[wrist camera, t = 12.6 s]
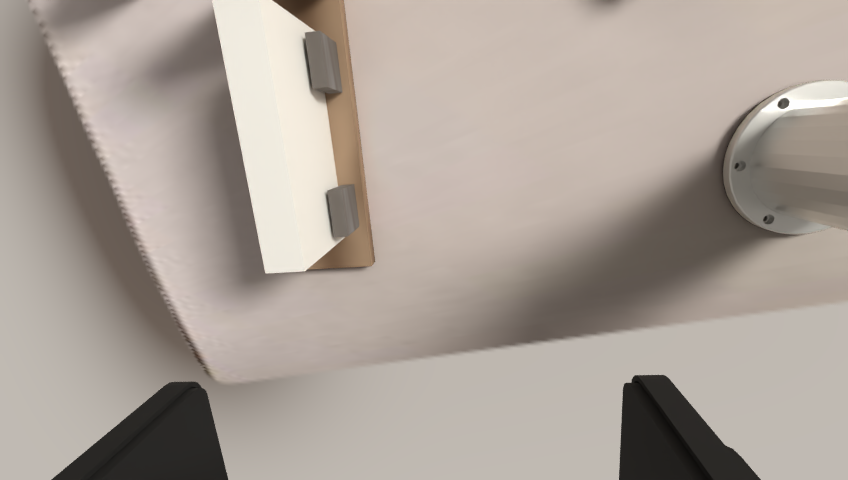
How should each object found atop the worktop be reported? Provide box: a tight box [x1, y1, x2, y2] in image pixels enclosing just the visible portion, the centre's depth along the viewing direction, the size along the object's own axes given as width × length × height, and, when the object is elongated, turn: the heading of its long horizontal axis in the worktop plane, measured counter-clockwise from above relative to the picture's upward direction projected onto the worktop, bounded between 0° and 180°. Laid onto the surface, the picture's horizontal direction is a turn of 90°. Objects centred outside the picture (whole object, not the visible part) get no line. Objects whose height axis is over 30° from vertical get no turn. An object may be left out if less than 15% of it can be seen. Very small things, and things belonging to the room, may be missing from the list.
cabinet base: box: [272, 0, 375, 269], centre depth 31 cm, size 8×26×14 cm, turn 5°
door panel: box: [212, 0, 345, 273], centre depth 31 cm, size 4×18×10 cm, turn 5°
